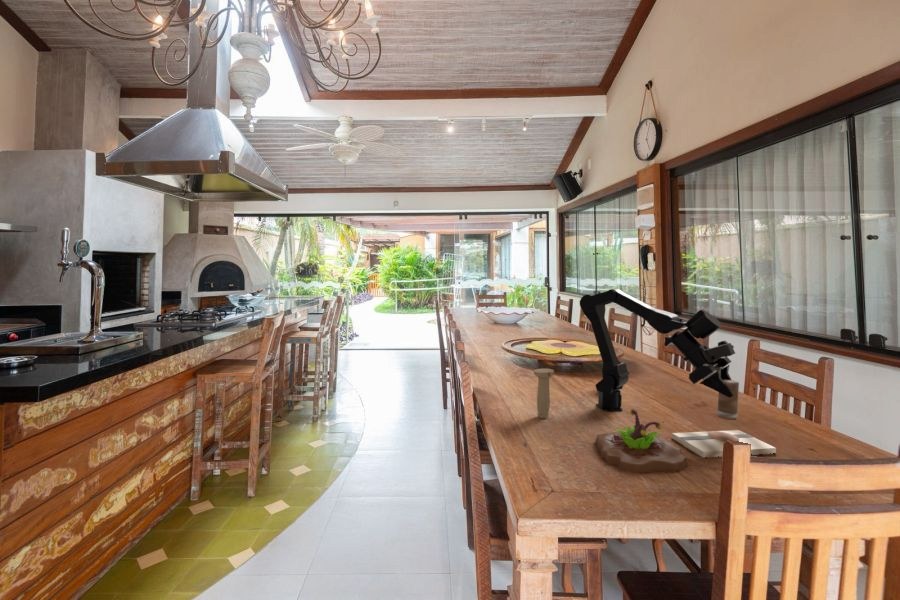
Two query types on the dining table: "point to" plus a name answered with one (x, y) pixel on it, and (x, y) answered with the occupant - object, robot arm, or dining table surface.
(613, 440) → the plant
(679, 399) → the dining table surface
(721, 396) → the grey-brown upright cylinder
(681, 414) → the dining table surface
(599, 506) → the dining table surface
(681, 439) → the board
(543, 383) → the handle
